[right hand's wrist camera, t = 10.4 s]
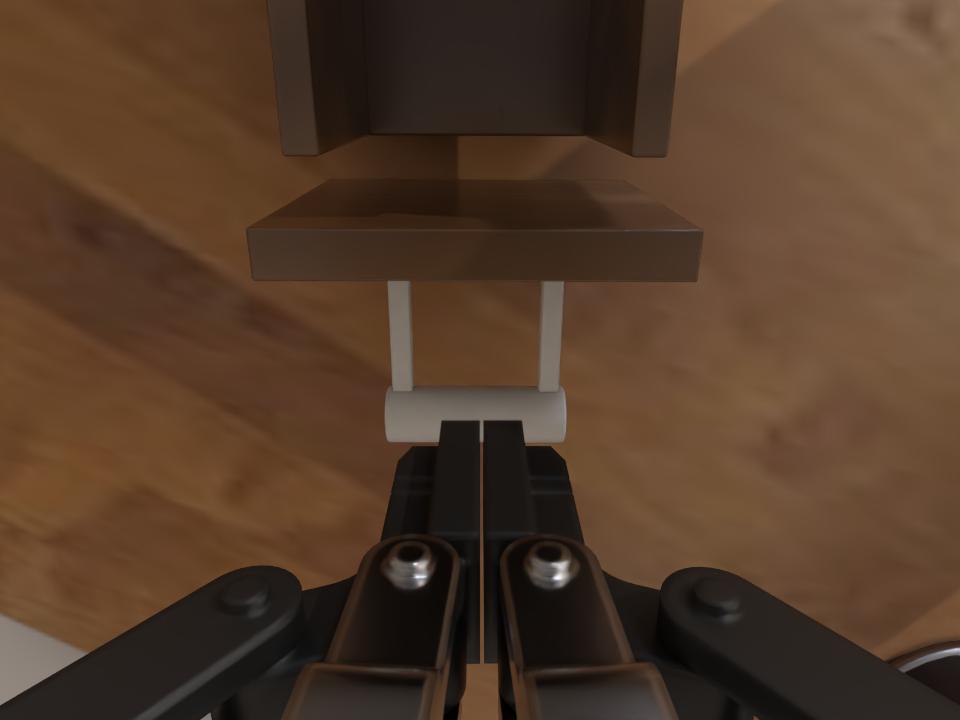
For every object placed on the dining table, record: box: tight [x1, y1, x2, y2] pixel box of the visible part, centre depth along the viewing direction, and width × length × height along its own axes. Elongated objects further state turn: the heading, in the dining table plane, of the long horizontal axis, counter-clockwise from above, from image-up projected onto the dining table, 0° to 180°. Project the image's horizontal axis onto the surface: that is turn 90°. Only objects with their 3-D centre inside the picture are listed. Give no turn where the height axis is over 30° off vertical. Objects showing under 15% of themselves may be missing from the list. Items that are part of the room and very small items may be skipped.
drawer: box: [246, 0, 703, 443], centre depth 17 cm, size 24×10×9 cm, turn 0°
